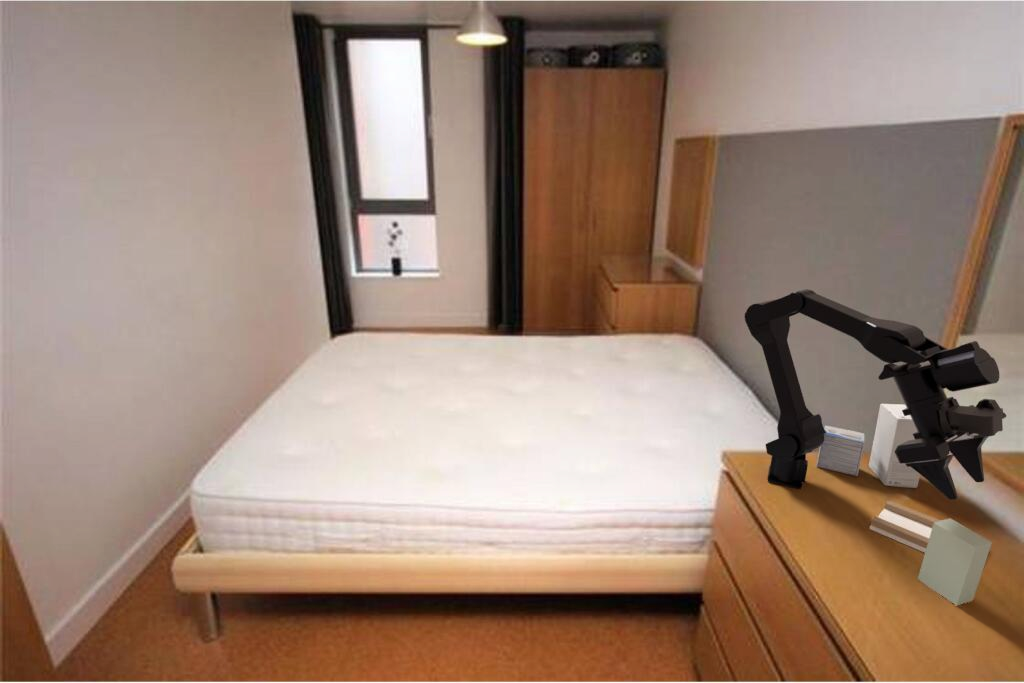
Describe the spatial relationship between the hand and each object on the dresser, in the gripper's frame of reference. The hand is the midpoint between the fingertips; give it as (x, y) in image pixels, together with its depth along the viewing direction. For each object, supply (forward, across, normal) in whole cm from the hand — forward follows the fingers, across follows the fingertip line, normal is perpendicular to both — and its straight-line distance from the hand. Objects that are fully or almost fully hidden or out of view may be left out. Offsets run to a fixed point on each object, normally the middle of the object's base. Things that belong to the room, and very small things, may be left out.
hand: (967, 490), depth 86 cm
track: (+9, +4, +12) cm, 16 cm away
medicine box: (-3, +14, +30) cm, 33 cm away
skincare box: (+2, +20, +23) cm, 31 cm away
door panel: (+13, -7, +6) cm, 16 cm away
